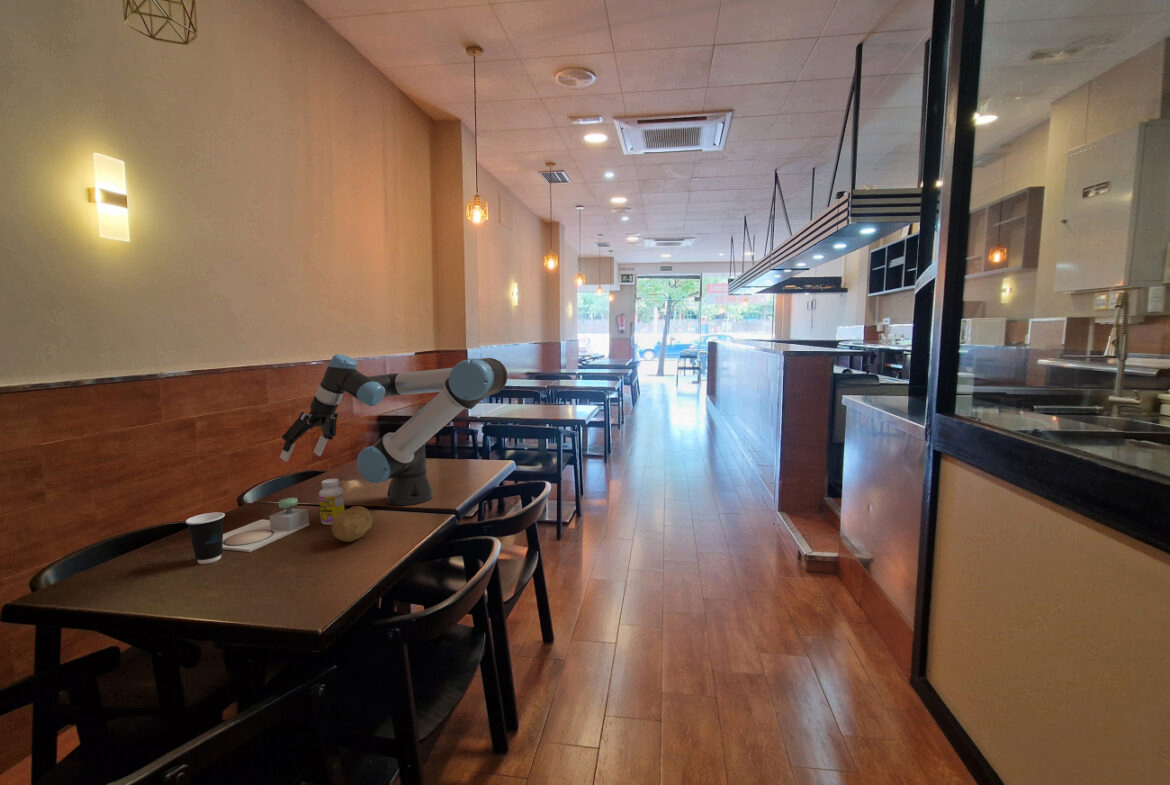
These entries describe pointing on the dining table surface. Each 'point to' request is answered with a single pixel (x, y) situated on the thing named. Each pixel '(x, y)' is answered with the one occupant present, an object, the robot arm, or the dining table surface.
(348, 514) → the potato
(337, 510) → the supplement bottle
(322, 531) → the dining table surface
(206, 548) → the dixie cup
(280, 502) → the button
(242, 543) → the grey base with block
